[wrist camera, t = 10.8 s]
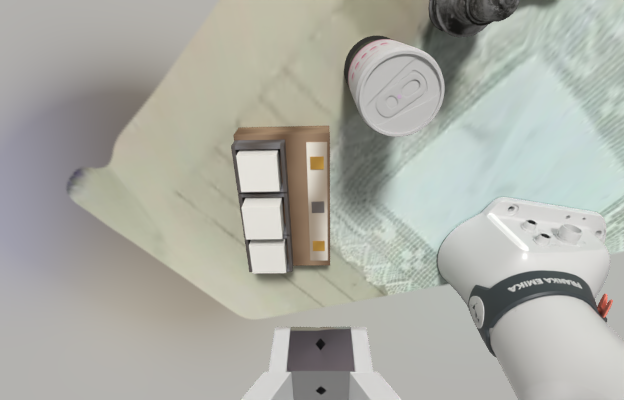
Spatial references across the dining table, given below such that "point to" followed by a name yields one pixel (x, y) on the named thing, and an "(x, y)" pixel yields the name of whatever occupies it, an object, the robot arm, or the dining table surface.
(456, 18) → the grey tiered upright piece
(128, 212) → the dining table surface
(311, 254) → the button board
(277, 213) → the button middle
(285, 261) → the button far
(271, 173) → the button near
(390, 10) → the dining table surface
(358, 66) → the beverage can
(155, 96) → the dining table surface
